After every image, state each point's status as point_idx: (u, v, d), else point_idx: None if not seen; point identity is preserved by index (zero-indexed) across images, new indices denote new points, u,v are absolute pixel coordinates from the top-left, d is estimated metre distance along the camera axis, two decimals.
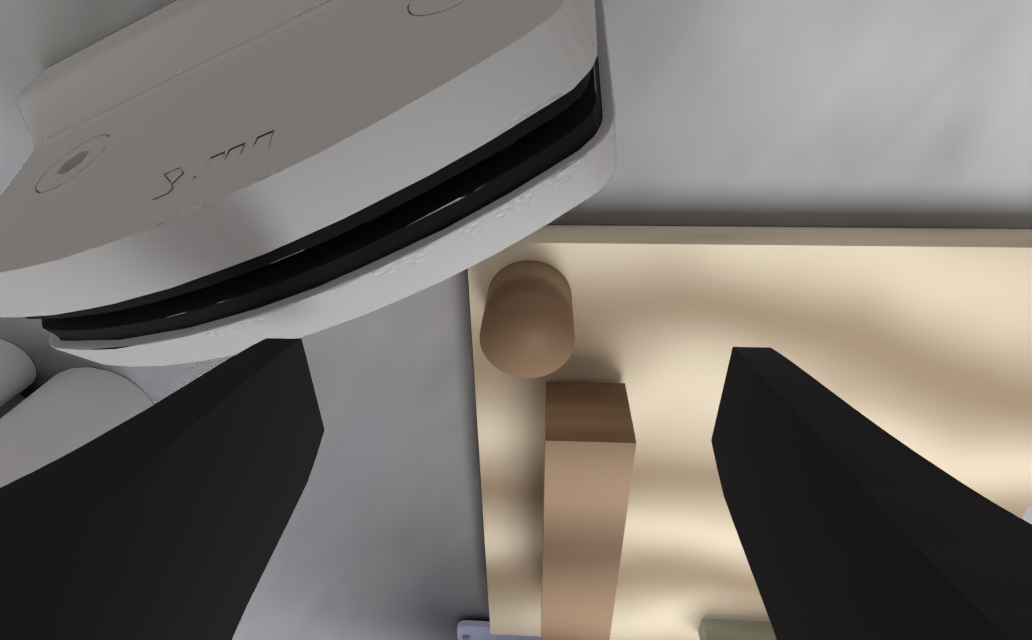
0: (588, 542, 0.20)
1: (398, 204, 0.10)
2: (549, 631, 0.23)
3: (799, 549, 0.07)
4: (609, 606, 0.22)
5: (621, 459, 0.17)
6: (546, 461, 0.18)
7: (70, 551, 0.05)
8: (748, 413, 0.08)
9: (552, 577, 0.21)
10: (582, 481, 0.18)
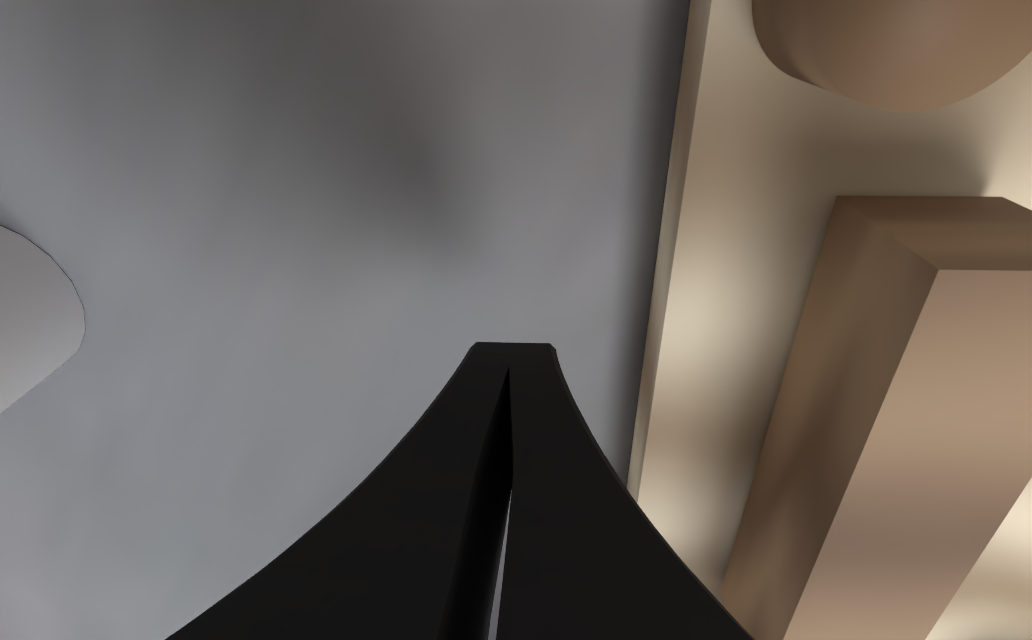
0: (929, 520, 0.10)
1: None
2: None
3: None
4: None
5: None
6: (917, 327, 0.08)
7: (460, 566, 0.05)
8: (510, 407, 0.08)
9: (823, 590, 0.11)
10: (982, 379, 0.08)
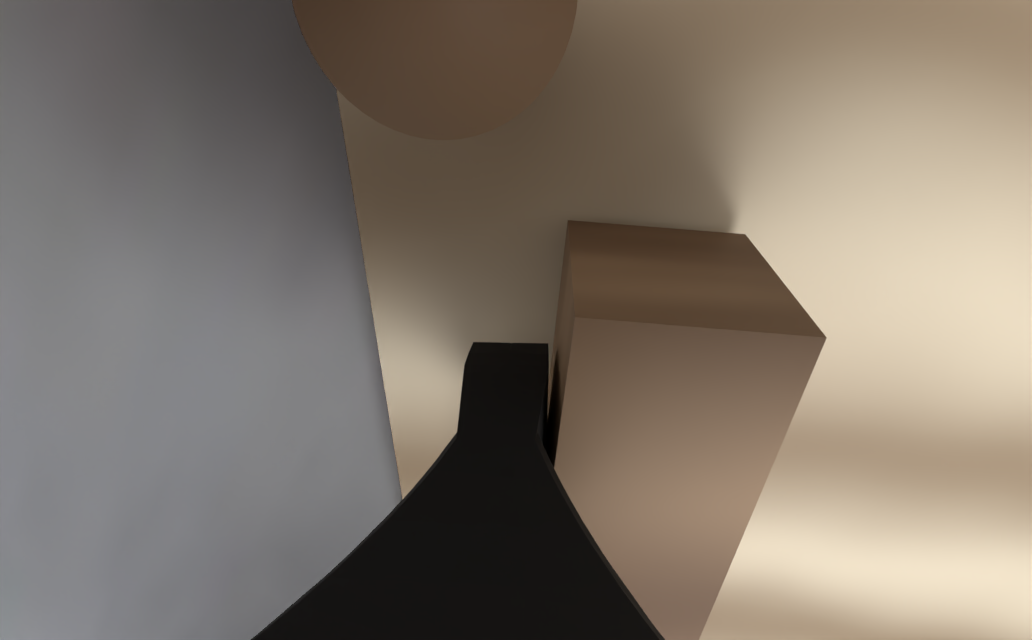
0: (640, 587, 0.09)
1: None
2: None
3: None
4: None
5: (771, 383, 0.07)
6: (570, 380, 0.07)
7: None
8: None
9: None
10: (656, 441, 0.07)
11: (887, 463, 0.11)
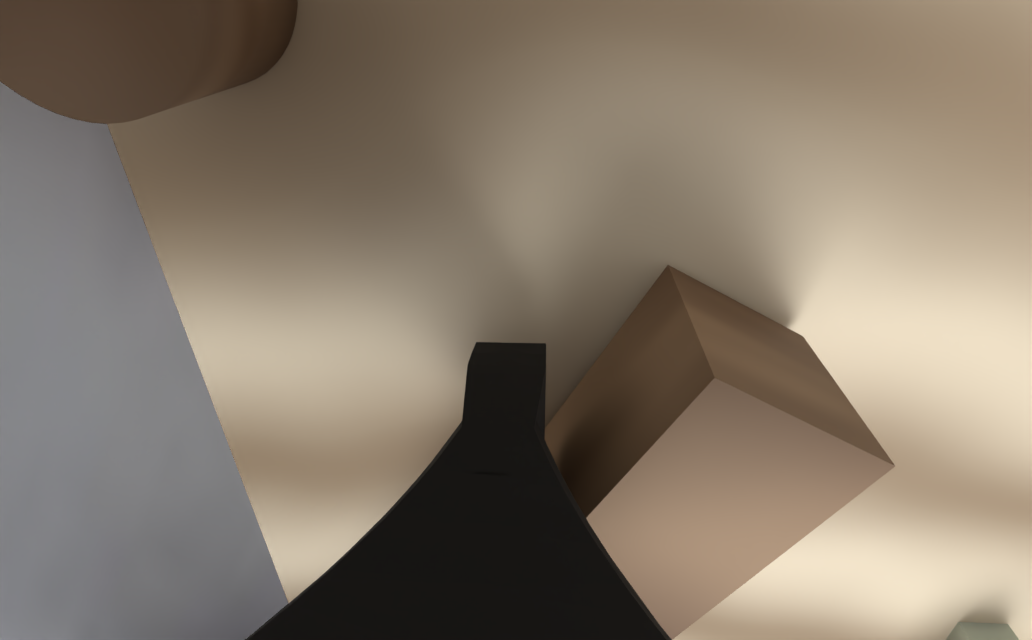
0: None
1: None
2: None
3: None
4: None
5: (829, 487, 0.07)
6: (672, 429, 0.07)
7: None
8: None
9: None
10: (707, 503, 0.08)
11: None
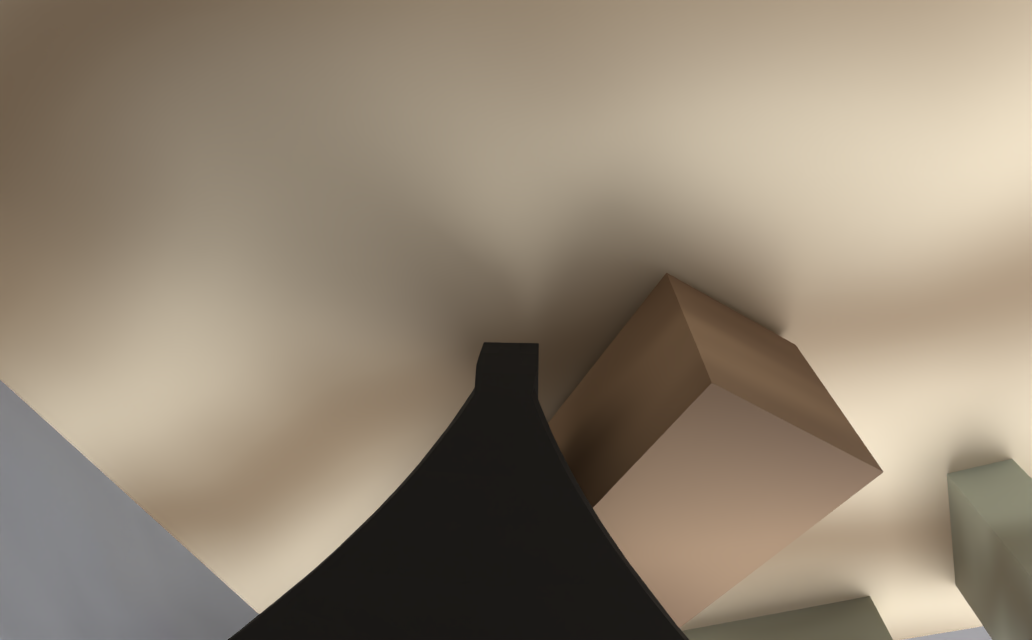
0: None
1: None
2: None
3: None
4: None
5: (821, 491, 0.07)
6: (669, 431, 0.07)
7: None
8: None
9: None
10: (701, 506, 0.08)
11: None
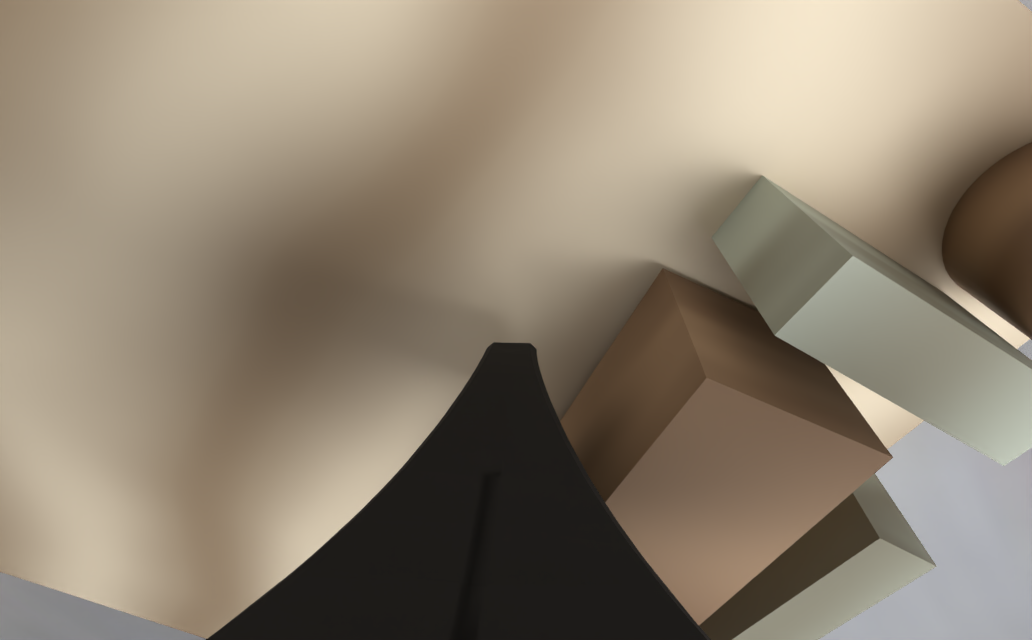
0: None
1: None
2: None
3: None
4: None
5: (829, 481, 0.07)
6: (668, 429, 0.07)
7: None
8: None
9: None
10: (709, 501, 0.08)
11: (265, 387, 0.11)
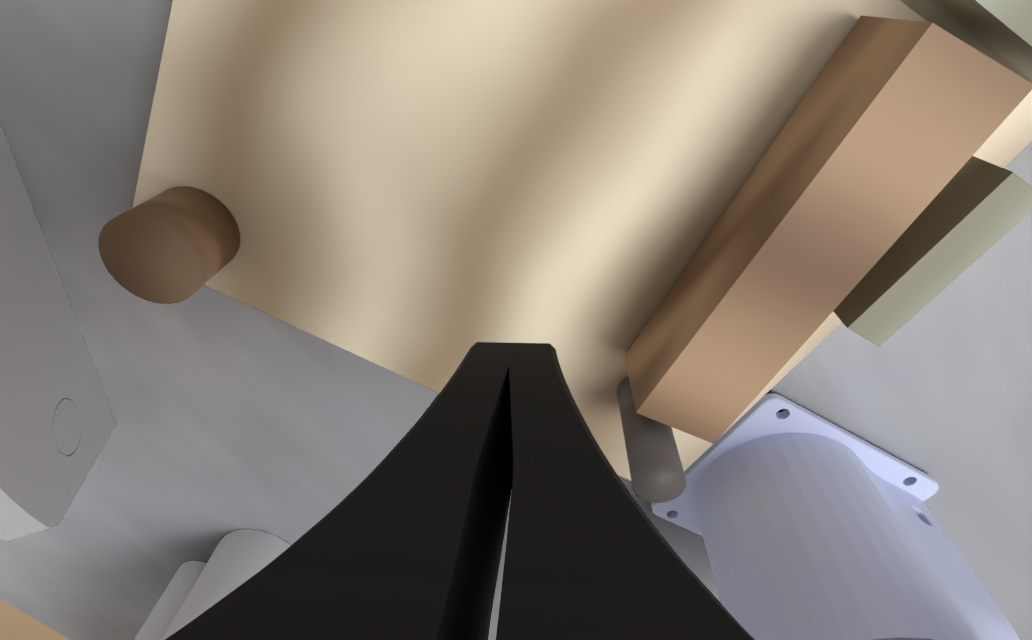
0: (832, 249, 0.14)
1: None
2: (663, 392, 0.16)
3: None
4: (769, 374, 0.16)
5: (993, 108, 0.12)
6: (901, 67, 0.12)
7: (459, 566, 0.05)
8: (510, 407, 0.08)
9: (739, 296, 0.15)
10: (914, 130, 0.12)
11: (551, 134, 0.16)
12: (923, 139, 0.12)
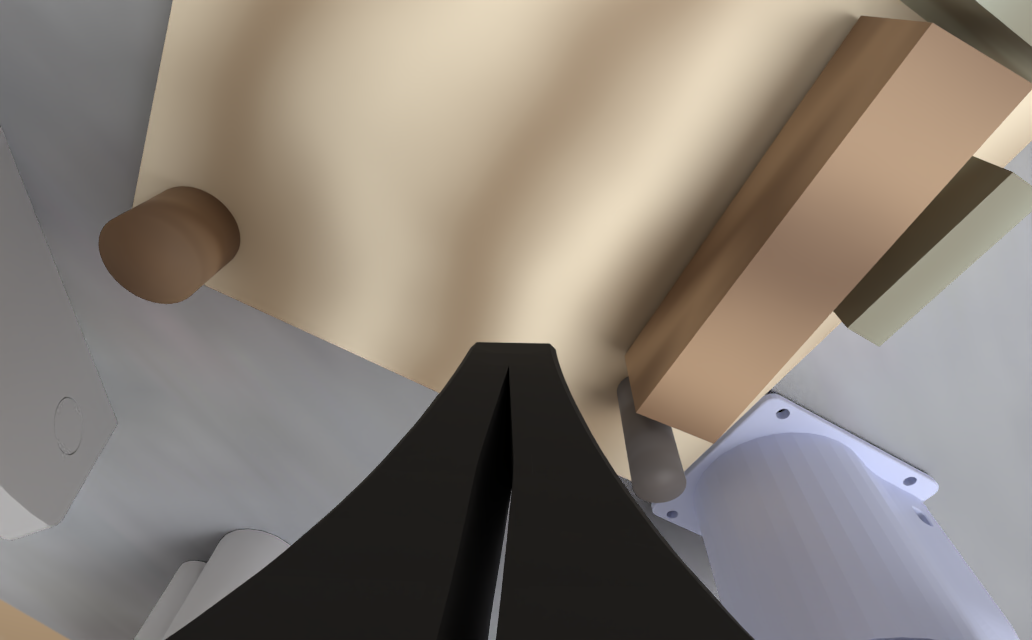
0: (832, 249, 0.14)
1: None
2: (663, 392, 0.16)
3: None
4: (769, 374, 0.16)
5: (993, 108, 0.12)
6: (901, 67, 0.12)
7: (459, 566, 0.05)
8: (510, 407, 0.08)
9: (739, 296, 0.15)
10: (914, 130, 0.12)
11: (551, 134, 0.16)
12: (923, 139, 0.12)
